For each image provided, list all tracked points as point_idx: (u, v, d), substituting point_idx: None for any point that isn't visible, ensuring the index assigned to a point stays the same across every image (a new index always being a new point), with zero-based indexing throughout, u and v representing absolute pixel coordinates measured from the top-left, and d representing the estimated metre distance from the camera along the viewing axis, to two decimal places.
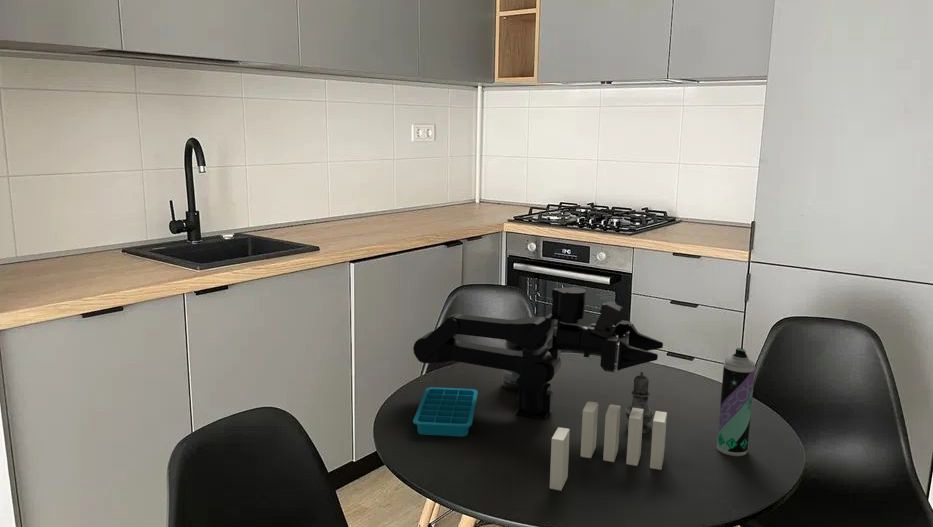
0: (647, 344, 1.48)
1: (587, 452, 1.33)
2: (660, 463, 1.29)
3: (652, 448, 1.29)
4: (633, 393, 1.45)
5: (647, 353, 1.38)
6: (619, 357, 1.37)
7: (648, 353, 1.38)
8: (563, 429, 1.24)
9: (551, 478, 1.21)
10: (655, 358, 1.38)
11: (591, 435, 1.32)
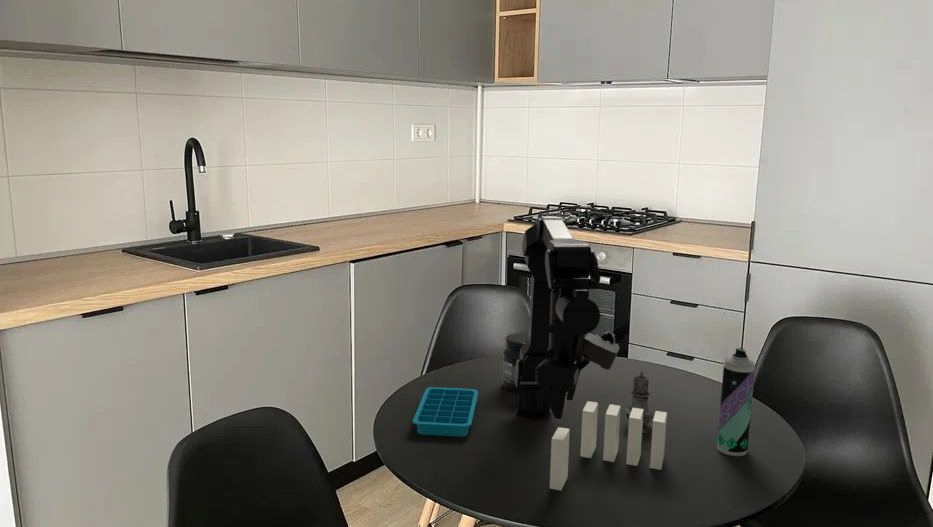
0: None
1: (587, 452, 1.33)
2: (660, 463, 1.29)
3: (652, 448, 1.29)
4: (633, 393, 1.45)
5: (561, 409, 1.16)
6: (553, 385, 1.13)
7: (561, 410, 1.16)
8: (563, 429, 1.24)
9: (551, 478, 1.21)
10: (556, 417, 1.17)
11: (591, 435, 1.32)
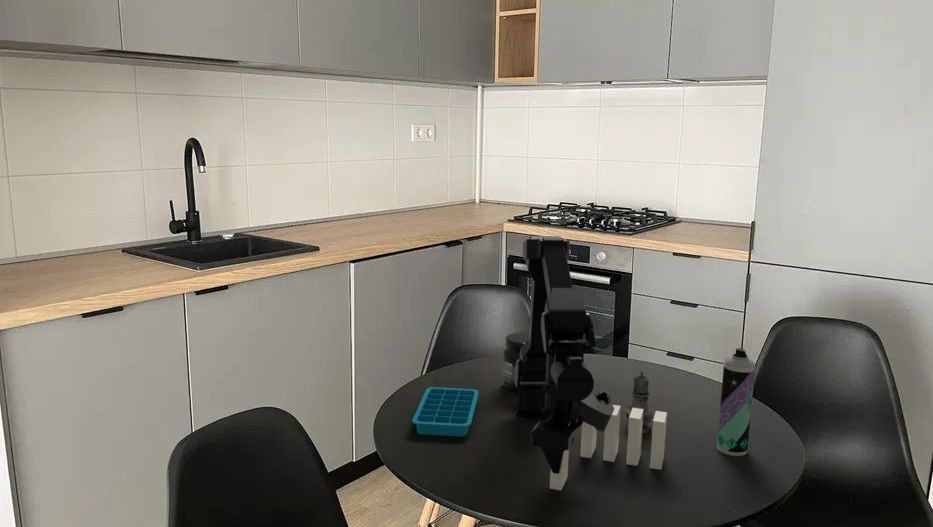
0: None
1: (587, 452, 1.33)
2: (660, 463, 1.29)
3: (652, 448, 1.29)
4: (633, 393, 1.45)
5: (559, 465, 1.19)
6: None
7: (558, 466, 1.19)
8: None
9: (551, 478, 1.21)
10: (554, 471, 1.20)
11: (591, 435, 1.32)
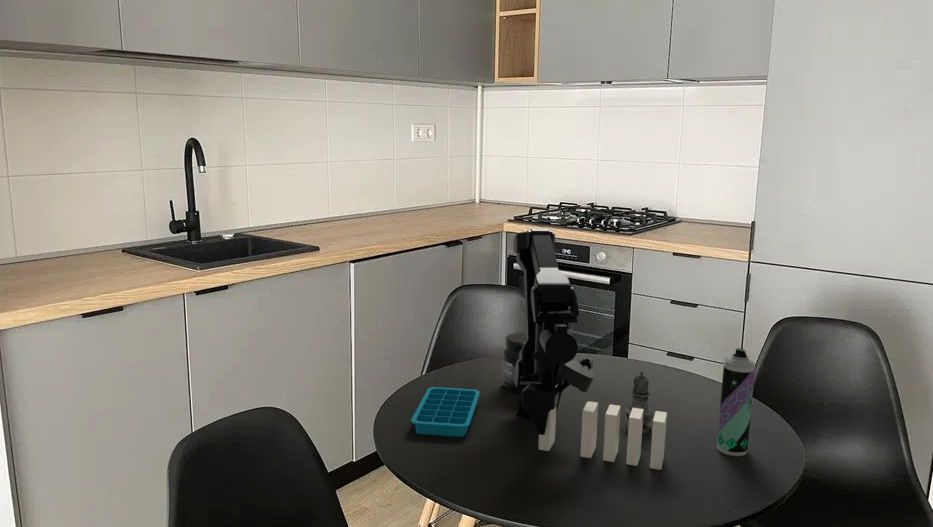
0: None
1: (587, 452, 1.33)
2: (660, 463, 1.29)
3: (652, 448, 1.29)
4: (633, 393, 1.45)
5: (544, 427, 1.32)
6: (537, 406, 1.29)
7: (544, 428, 1.32)
8: None
9: (540, 440, 1.36)
10: (540, 433, 1.33)
11: (591, 435, 1.32)
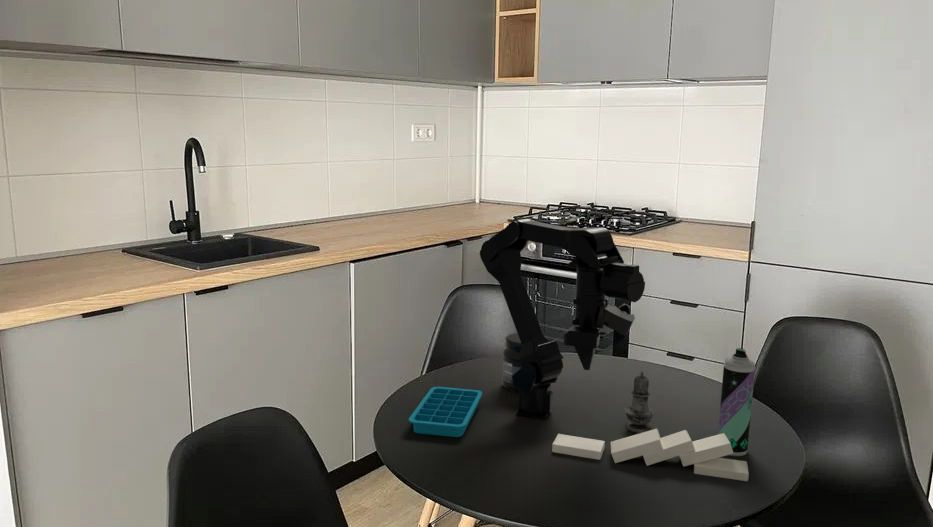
0: None
1: (619, 457, 1.31)
2: None
3: (717, 470, 1.26)
4: (633, 393, 1.45)
5: (589, 362, 1.41)
6: None
7: (589, 363, 1.41)
8: None
9: (562, 446, 1.35)
10: (585, 368, 1.42)
11: (638, 455, 1.30)
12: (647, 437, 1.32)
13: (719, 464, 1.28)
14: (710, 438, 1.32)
